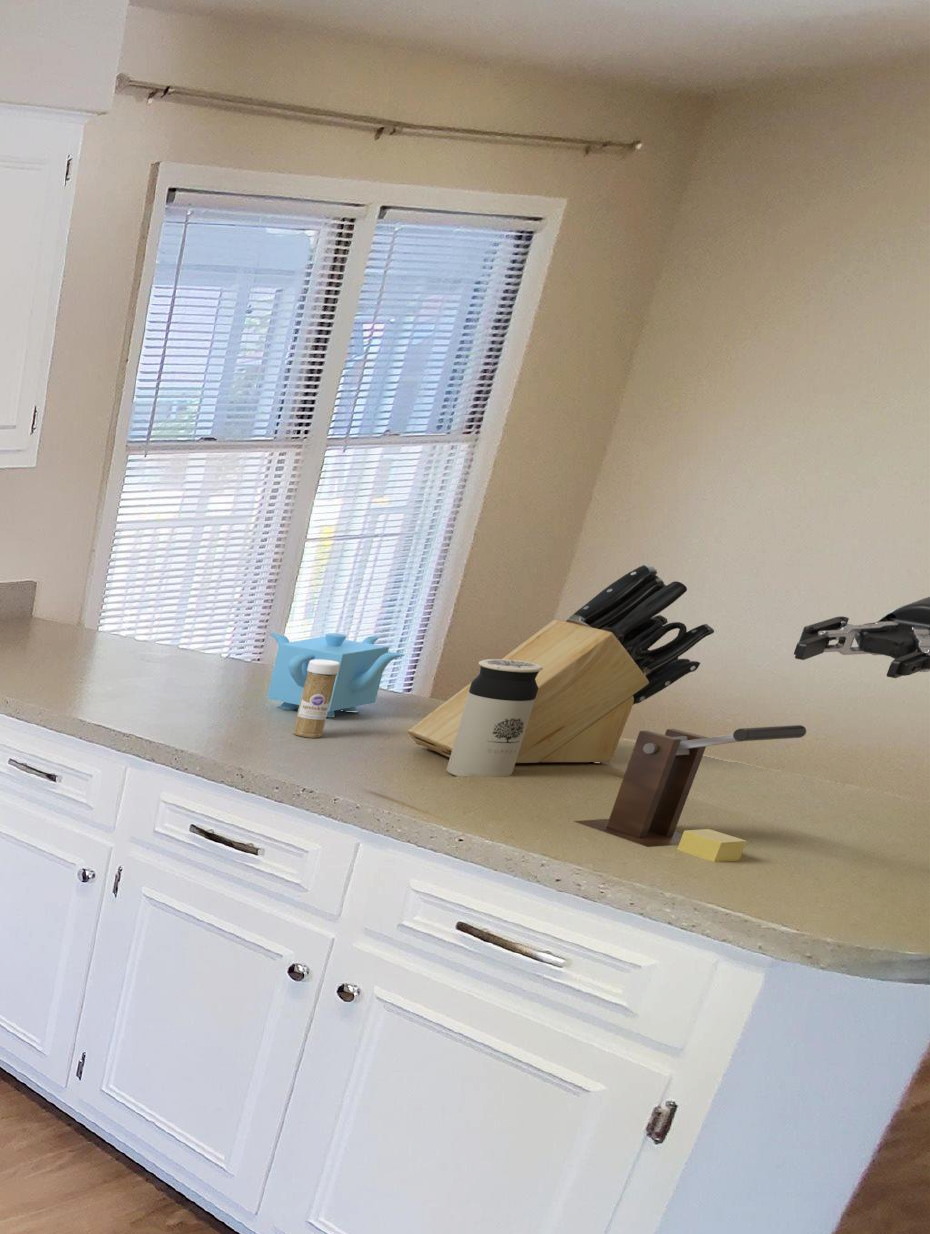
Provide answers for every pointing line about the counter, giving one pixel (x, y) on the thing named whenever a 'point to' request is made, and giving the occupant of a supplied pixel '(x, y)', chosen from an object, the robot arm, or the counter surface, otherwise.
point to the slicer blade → (742, 737)
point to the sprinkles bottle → (316, 698)
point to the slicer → (653, 790)
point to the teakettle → (352, 680)
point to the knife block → (588, 673)
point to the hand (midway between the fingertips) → (845, 660)
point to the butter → (711, 845)
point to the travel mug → (494, 718)
